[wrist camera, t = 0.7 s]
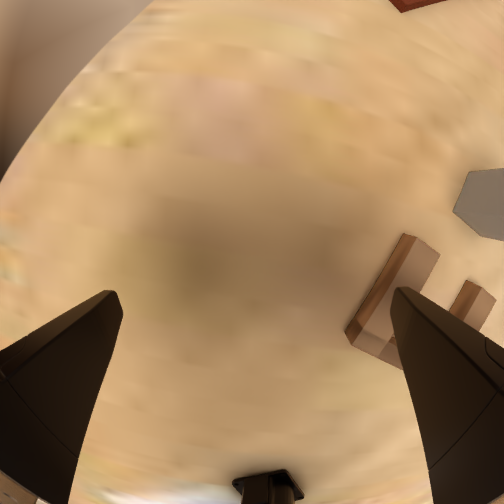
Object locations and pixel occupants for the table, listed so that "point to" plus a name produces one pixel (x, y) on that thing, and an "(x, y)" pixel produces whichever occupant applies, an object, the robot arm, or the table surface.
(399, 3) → the hanging shelf
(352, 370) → the table surface
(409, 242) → the slot block
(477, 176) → the peg
